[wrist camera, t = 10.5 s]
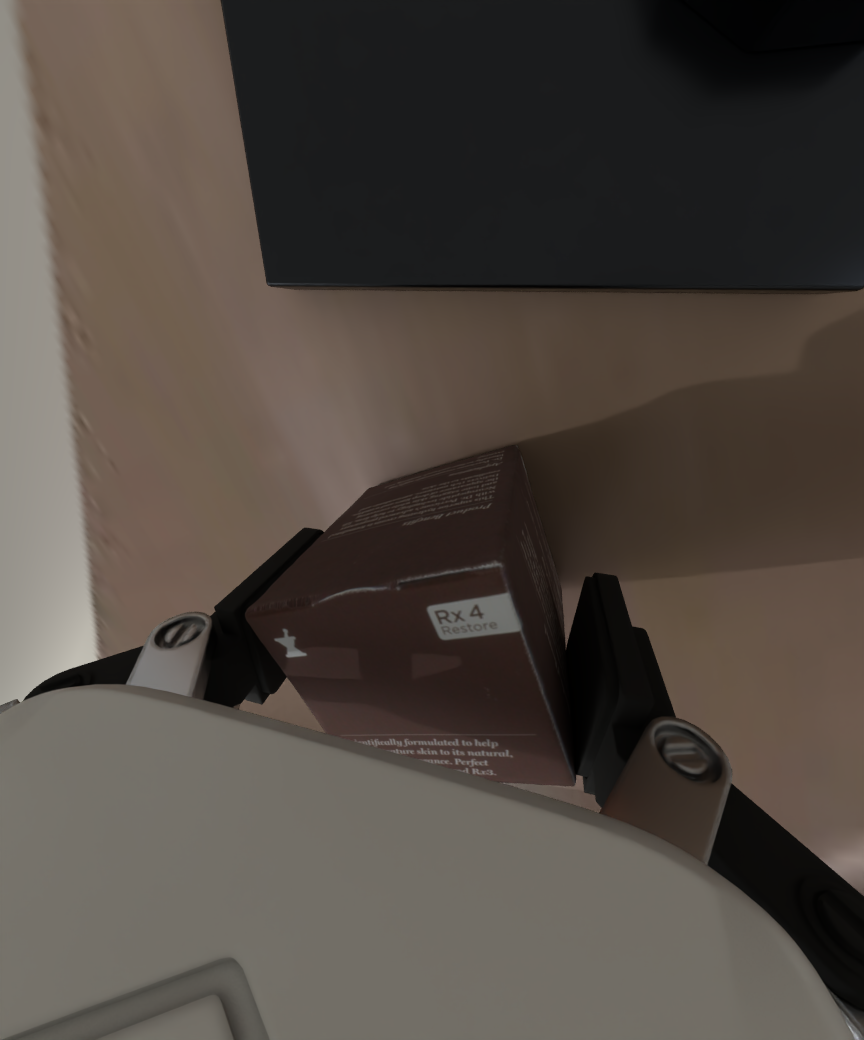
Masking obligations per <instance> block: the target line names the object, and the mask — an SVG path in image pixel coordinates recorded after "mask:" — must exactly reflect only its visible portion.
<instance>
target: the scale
mask: <svg viewBox="0 0 864 1040" xmlns="http://www.w3.org/2000/svg"><path fill="white" fill-rule="evenodd" d="M221 5H222V11H223V17H224V23H225V29H226V35H227V42H228V48H229V54H230V60H231V66H232V72H233V79H234V85H235V91H236V97H237V103H238V109H239V116H240V122H241V128H242V134H243V140H244V146H245V153H246V159H247V165H248V171H249V177H250V183H251V190H252V196H253V202H254V208H255V214H256V220H257V227H258V233H259V239H260V245H261V251H262V257H263V264H264V270H265V276H266V282H267V285H268V286H270V287H277V288H286V289H294V290H395V291H504V292H614V293H724V294H829V293H840V292H852V291H858V290H861V289H863V288H864V0H221Z"/></svg>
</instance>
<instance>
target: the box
mask: <svg viewBox="0 0 864 1040" xmlns="http://www.w3.org/2000/svg"><path fill="white" fill-rule="evenodd" d="M245 617H246V620H247V622H248V623H249V625H250V626H251V628H252V629H253V631H254V632H255V634H256V635H257V636H258V638H259V639H260V641H261V642H262V643H263V644H264V646H265V647H266V648H267V650H268V651H269V653H270V654H271V656H272V657H273V658H274V660H275V661H276V662H277V663H278V665H279V666H280V667H281V669H282V670H283V672H284V673H285V675H286V676H287V678H288V679H289V680H290V682H291V683H292V684H293V686H294V687H295V689H296V690H297V692H298V693H299V694H300V696H301V698H302V699H303V700H304V702H305V703H306V705H307V706H308V707H309V709H310V710H311V712H312V713H313V715H314V716H315V718H316V719H317V720H318V722H319V723H320V725H321V727H322V728H323V729H324V731H325V732H326V734H329V735H333V736H336V737H340V738H344V739H347V740H351V741H354V742H358V743H361V744H365V745H369V746H372V747H376V748H379V749H383V750H386V751H390V752H394V753H397V754H401V755H404V756H408V757H411V758H415V759H418V760H422V761H425V762H429V763H432V764H436V765H439V766H443V767H446V768H450V769H453V770H457V771H461V772H464V773H468V774H471V775H475V776H478V777H482V778H485V779H489V780H492V781H496V782H505V783H523V784H538V785H558V786H574V785H575V783H576V771H575V758H574V743H573V729H572V719H571V705H570V692H569V683H568V671H567V659H566V644H565V631H564V615H563V604H562V589H561V585H560V582H559V578H558V575H557V571H556V568H555V565H554V562H553V558H552V555H551V552H550V549H549V546H548V543H547V539H546V536H545V532H544V529H543V525H542V523H541V519H540V516H539V513H538V510H537V506H536V503H535V500H534V497H533V494H532V490H531V486H530V483H529V481H528V477H527V473H526V469H525V466H524V462H523V460H522V456H521V453H520V450H519V449H518V446H517V445H512V446H507V447H505V448H502V449H499V450H495V451H491V452H489V453H485V454H481V455H478V456H475V457H471V458H468V459H464V460H461V461H457V462H454V463H451V464H448V465H444V466H441V467H437V468H434V469H431V470H427V471H425V472H421V473H417V474H414V475H411V476H408V477H404V478H401V479H398V480H394V481H392V482H388V483H385V484H382V485H378V486H375V487H371V488H369V489H368V490H367V491H366V492H365V493H364V494H363V495H362V496H361V497H360V498H359V499H358V500H357V501H356V502H355V503H354V504H353V505H352V506H351V507H350V508H349V509H348V510H347V511H346V512H345V513H344V514H343V515H341V516H340V517H339V518H338V519H337V520H336V521H335V522H334V523H333V524H332V525H331V526H330V527H329V528H328V529H327V530H326V531H325V532H324V533H323V534H322V535H321V536H320V537H319V538H318V539H317V540H316V541H315V542H314V543H313V544H312V545H311V546H310V547H309V548H308V549H307V550H306V551H305V552H304V553H303V554H302V555H301V556H300V557H299V558H298V559H297V560H296V561H295V562H294V564H293V565H292V566H290V567H289V568H288V569H287V570H286V571H285V572H284V573H283V574H282V575H281V576H280V577H279V578H278V579H277V580H276V581H275V582H274V583H273V584H272V585H271V586H270V588H269V589H268V590H267V591H266V592H265V593H264V594H263V595H262V596H261V597H260V598H259V599H258V600H257V601H256V602H255V603H254V604H252V605H251V606H250V607H249V608H248V609H247V611H246V613H245Z"/></svg>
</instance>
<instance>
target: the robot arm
mask: <svg viewBox="0 0 864 1040" xmlns="http://www.w3.org/2000/svg"><path fill="white" fill-rule="evenodd" d="M323 533H324V532H323V531H322V530H318V529H312V528H303V529H302V530H301V531H300V532H298V533H297V534H296V535H295V536H294V537H293V538H292V539H291V540H289V541H288V542H287V543H286V544H285V545H284V546H283V547H282V548H280V549H279V550H278V551H277V552H276V553H275V554H274V555H272V556H271V557H270V558H269V559H268V560H267V561H266V562H265V563H263V564H262V565H261V566H260V567H259V568H258V569H257V570H256V571H254V572H253V573H252V574H251V575H250V576H249V577H248V578H247V579H245V580H244V581H243V582H242V583H241V584H240V585H239V586H237V587H236V588H235V589H234V590H233V591H232V592H231V593H230V594H228V595H227V596H226V597H225V598H224V599H223V600H222V601H221V602H219V603H218V604H217V605H216V606H215V607H214V608H215V611H216V612H215V613H213V614H212V615H211V616H209V615H207V614H205V613H202V612H187V613H183V614H179V615H176V616H174V617H172V618H169V619H167V620H166V621H164V622H162V623H161V624H159V625H158V626H157V627H156V628H155V629H154V630H152V632H151V633H150V635H149V636H148V638H147V640H146V642H145V644H144V646H141V647H138V648H135V649H132V650H129V651H126V652H122V653H119V654H116V655H113V656H110V657H107V658H103V659H100V660H97V661H94V662H91V663H88V664H84V665H81V666H78V667H75V668H72V669H69V670H66V671H64V672H61V673H59V674H56V675H54V676H53V677H51V678H49V679H47V680H45V681H44V682H42V683H41V684H40V685H39V686H37V687H36V688H34V689H33V690H32V691H31V692H30V693H29V694H28V695H27V696H26V697H25V699H24V700H23V701H22V702H19V701H18V699H15V700H13V701H10V702H8V703H5V704H3V705H1V706H0V1040H864V896H863V895H861V894H860V893H859V892H858V891H857V890H856V889H854V888H853V887H852V886H851V885H850V884H849V883H847V882H846V881H845V880H844V879H843V878H842V877H840V876H839V875H838V874H837V873H836V872H835V871H833V870H832V869H831V868H830V867H829V866H828V865H826V864H825V863H824V862H823V861H822V860H821V859H819V858H818V857H817V856H816V855H815V854H814V853H812V852H811V851H810V850H809V849H808V848H806V847H805V846H804V845H803V844H802V843H801V842H799V841H798V840H797V839H796V838H795V837H794V836H792V835H791V834H790V833H789V832H788V831H787V830H785V829H784V828H783V827H782V826H781V825H780V824H778V823H777V822H776V821H775V820H774V819H773V818H771V817H770V816H769V815H768V814H767V813H766V812H764V811H763V810H762V809H761V808H760V807H759V806H757V805H756V804H755V803H754V802H753V801H752V800H750V799H749V798H748V797H747V796H746V795H744V794H743V793H742V792H741V791H740V790H739V789H737V788H736V787H735V786H734V785H733V784H732V783H731V782H732V769H731V766H730V763H729V760H728V758H727V756H726V755H725V753H724V752H723V750H722V749H721V747H720V746H719V745H718V744H717V743H716V742H715V741H714V740H713V739H712V738H711V737H710V736H709V735H708V734H707V733H705V732H704V731H703V730H701V729H700V728H699V727H697V726H695V725H693V724H691V723H689V722H687V721H685V720H682V719H679V718H676V716H675V713H674V710H673V707H672V704H671V701H670V699H669V696H668V693H667V690H666V687H665V684H664V681H663V678H662V675H661V672H660V669H659V666H658V663H657V660H656V657H655V654H654V652H653V649H652V646H651V643H650V640H649V637H648V634H647V632H646V631H645V630H644V629H643V628H638V627H632V625H631V621H630V618H629V615H628V611H627V608H626V605H625V601H624V598H623V594H622V591H621V588H620V584H619V581H618V578H617V576H614V575H608V574H602V573H594V574H593V576H592V577H588V576H586V577H585V580H584V583H583V587H582V591H581V594H580V598H579V602H578V606H577V609H576V613H575V617H574V620H573V624H572V628H571V632H570V635H569V639H568V643H567V648H566V659H567V671H568V683H569V692H570V705H571V719H572V729H573V743H574V758H575V771H576V775H580V776H583V784H584V792H585V793H589V794H593V795H595V797H596V802H597V803H598V804H599V805H600V806H601V807H602V809H601V811H600V813H597V812H594V811H591V810H588V809H586V808H582V807H579V806H576V805H572V804H569V803H566V802H562V801H559V800H556V799H553V798H549V797H546V796H543V795H539V794H536V793H533V792H530V791H526V790H523V789H520V788H516V787H513V786H510V785H506V784H503V783H499V782H496V781H492V780H489V779H485V778H482V777H478V776H475V775H471V774H468V773H464V772H461V771H457V770H453V769H450V768H446V767H443V766H439V765H436V764H432V763H429V762H425V761H422V760H418V759H415V758H411V757H408V756H404V755H401V754H397V753H394V752H390V751H386V750H383V749H379V748H376V747H372V746H369V745H365V744H361V743H358V742H354V741H351V740H347V739H344V738H340V737H336V736H333V735H329V734H326V733H322V732H318V731H315V730H311V729H308V728H304V727H300V726H297V725H293V724H290V723H286V722H282V721H279V720H275V719H271V718H268V717H264V716H260V715H257V714H253V713H249V712H246V711H242V710H239V706H240V704H241V703H242V702H243V700H244V699H246V700H247V701H251V702H255V703H258V704H263V703H264V702H265V700H266V699H267V697H268V696H269V695H270V694H274V693H275V692H276V691H277V690H278V689H279V687H280V686H281V684H282V683H283V682H284V680H285V679H286V677H287V676H286V675H285V673H284V672H283V670H282V669H281V667H280V666H279V665H278V663H277V662H276V661H275V660H274V658H273V657H272V656H271V654H270V653H269V651H268V650H267V648H266V647H265V646H264V644H263V643H262V642H261V641H260V639H259V638H258V636H257V635H256V634H255V632H254V631H253V629H252V628H251V626H250V625H249V623H248V622H247V620H246V617H245V613H246V611H247V609H248V608H249V607H250V606H251V605H252V604H254V603H255V602H256V601H257V600H258V599H259V598H260V597H261V596H262V595H263V594H264V593H265V592H266V591H267V590H268V589H269V588H270V586H271V585H272V584H273V583H274V582H275V581H276V580H277V579H278V578H279V577H280V576H281V575H282V574H283V573H284V572H285V571H286V570H287V569H288V568H289V567H290V566H292V565H293V564H294V562H295V561H296V560H297V559H298V558H299V557H300V556H301V555H302V554H303V553H304V552H305V551H306V550H307V549H308V548H309V547H310V546H311V545H312V544H313V543H314V542H315V541H316V540H317V539H318V538H319V537H320V536H321V535H322V534H323Z"/></svg>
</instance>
